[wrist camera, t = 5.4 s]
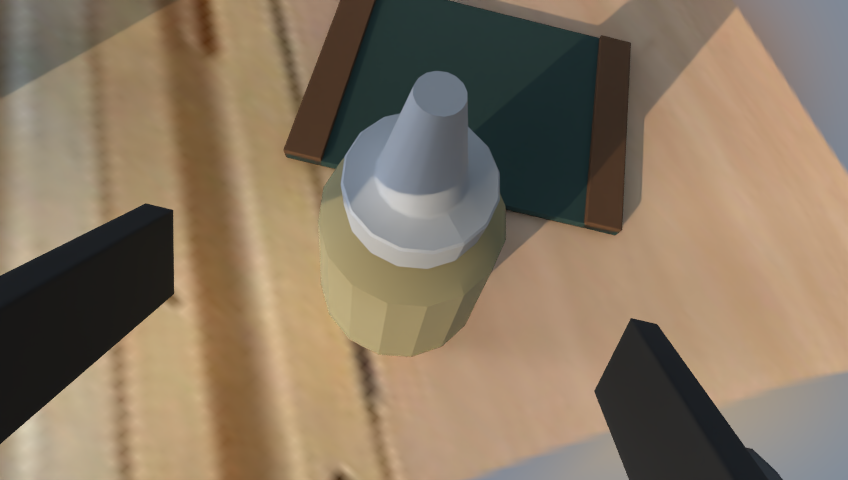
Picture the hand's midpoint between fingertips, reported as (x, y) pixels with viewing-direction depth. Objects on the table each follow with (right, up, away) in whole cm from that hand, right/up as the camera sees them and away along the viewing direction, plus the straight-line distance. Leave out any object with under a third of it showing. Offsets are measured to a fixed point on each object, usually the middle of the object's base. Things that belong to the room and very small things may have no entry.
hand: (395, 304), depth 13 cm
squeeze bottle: (-1, -1, +14) cm, 14 cm away
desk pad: (+4, +12, +19) cm, 23 cm away
